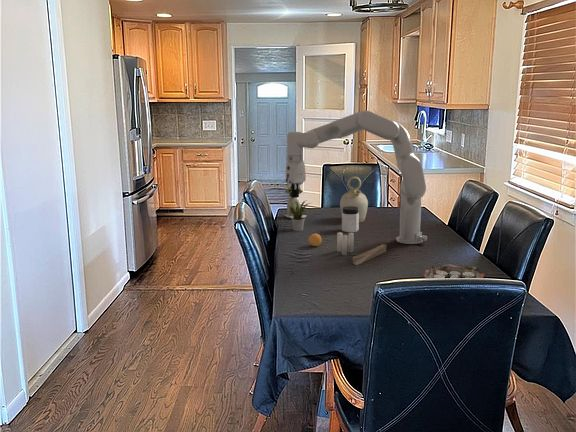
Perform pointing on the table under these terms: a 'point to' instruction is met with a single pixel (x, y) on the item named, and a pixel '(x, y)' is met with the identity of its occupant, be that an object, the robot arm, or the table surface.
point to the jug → (355, 199)
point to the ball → (315, 239)
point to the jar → (350, 219)
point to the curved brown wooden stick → (369, 254)
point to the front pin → (339, 242)
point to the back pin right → (350, 242)
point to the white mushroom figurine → (292, 203)
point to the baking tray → (454, 272)
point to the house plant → (297, 216)
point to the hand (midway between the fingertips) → (295, 197)
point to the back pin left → (344, 244)
